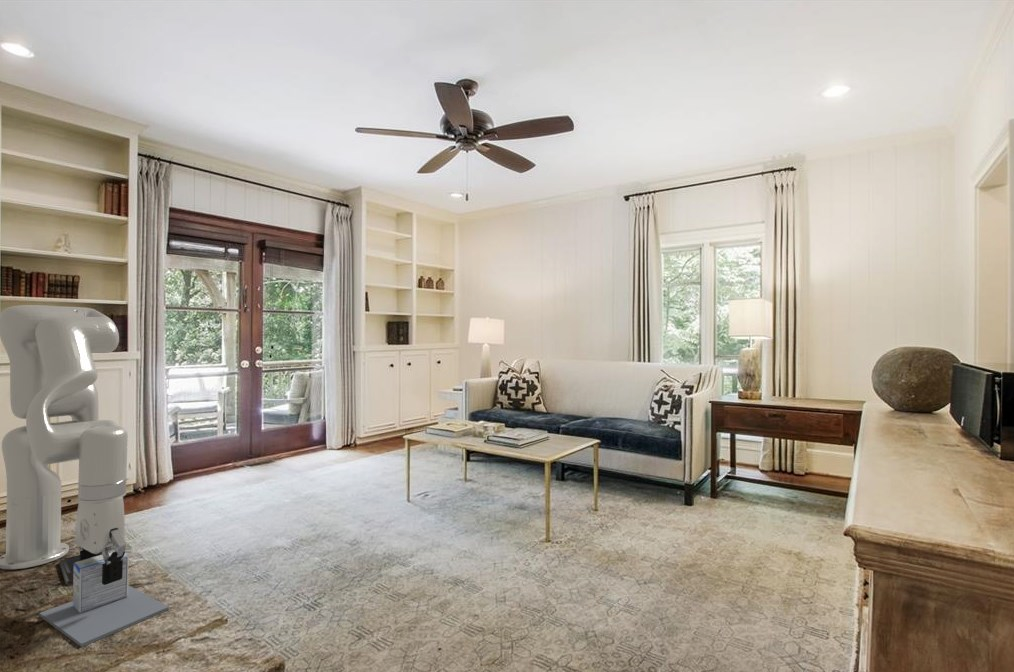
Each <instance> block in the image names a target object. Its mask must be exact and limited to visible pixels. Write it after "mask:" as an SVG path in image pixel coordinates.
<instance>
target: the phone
mask: <svg viewBox="0 0 1014 672" xmlns="http://www.w3.org/2000/svg"><path fill="white" fill-rule="evenodd" d="M100 555H102V552H100ZM78 561H80V554H78V555H74V556H70V557H66V558H62V559H60V560H59V561H58V565H59V570H60V571H61V573H62V576H63V579H64V582H65V585H66V586H73V570H74V563H75V562H78Z"/></svg>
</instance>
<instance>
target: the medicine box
mask: <svg viewBox="0 0 1014 672" xmlns="http://www.w3.org/2000/svg"><path fill="white" fill-rule="evenodd" d="M113 552H115V550H113V551H109V552H108V553H109V557H110V555H111V554H112V553H113ZM129 557H130V556H129V555H128V554H127V553H126V552H125V554H124V559H123V573H122V579H120V580H118V581H115V582H112V583H109V584H107V585H103V584H102V564H105V562H104V558H103V555H99V556H96V557H92V558H89V559H85V560H82V561H78V562H75V563H74V570H73V585H72V587H73V588H72V592H73V594H72V597H73V598H72V601H73V605H74V606H75V608H76V609H77V610H78V611H79V613H81V612H84V611H87V610H89V609H92V608H95V607H98V606H101V605H104V604H107V603H109V602H112V601H115V600H118V599H121V598H124V597H127V596H128V585H129V559H130V558H129Z"/></svg>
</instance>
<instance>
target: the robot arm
mask: <svg viewBox="0 0 1014 672" xmlns="http://www.w3.org/2000/svg"><path fill="white" fill-rule="evenodd" d="M0 340H1V343H2V345H3V347H4V349H5V351H6V353H7V357H8V360H9V392H10V393H9V399H10V401H9V402H10V408H11V412H12V414H13V415H14V417H16V418H18V419H23V420H25V425H23V426H19V427H16V428H13V429H11V430H10V431H8V432H7V433H6V434H5V435H4V436H3V438H2V441H1V452H2V457H3V458H2V459H3V461H4V462H3V463H4V467H5V473H6V475H5V476H6V519H5V521H6V522H5V523H6V524H5V527H6V529H5V530H6V531H5V536H6V537H5V541H6V542H5V553H4V554H2V555H1V556H0V569H1V570H19V569H20V570H22V569H27V568H28V569H29V568H33V567H34V568H35V567H37V566H41V565H44V564H48V563H50V562H51V563H52V562H53V561H56V560H59V559H60V558H62V557H64V556H65V555H66V554H67V553H69V551H70V545H69V544H67V543H65V542H61V540H62V539H61V535H62V533H61V531H62V530H61V529H62V480H61V477H60V476H59V474H57V473H56V472H55V471H53V470H52V469H51V468H50V467H49V466H48V465H53V464H60V463H67V462H72V461H78V480H77V481H78V484H77V485H78V488H77V489H78V490H77V491H78V492H77V501H78V504H77V505H78V506H77V510H76V511H77V512H76V522H75V532H74V542H75V544H76V546H78V548H79V550H80V551H79V555H80V561H82V560H85V559H89V558H92V557H96V556H99V555H100V552H102V555H103V558H104V562H105V564H102V584H103V585H107V584H109V583H112V582H115V581H118V580H120V579H122V573H123V559H124V554H125V553H126V548H127V543H126V540H125V536H126V535H125V534H126V533H125V531H126V527H125V526H126V524H125V520H126V519H125V504H124V503H125V502H124V497H125V496H126V495H127V472H128V471H127V469H128V462H127V461H128V441H129V440H128V432H127V429H126V428H124V427H122V426H119V424H117V423H116V422H115V421H113V420H110V419H101V420H100V419H99V394H98V390H97V385H96V384H95V382H96V381H97V379H98V371H97V368H96V363H95V360H94V357H93V354H109V353H112V352H113V351H115V350H116V349H117V348H118V346H119V343H120V334H119V330H118V327H117V326H116V324H115V322H114V320H113V319H111V318H110V317H109V316H107V315H105V314H103V313H102V312H100V311H98V310H96V309H94V308H90V307H86V306H85V307H82V306H62V305H61V306H57V305H42V304H25V305H24V304H22V305H21V304H20V305H14V306H13V305H12V306H10V307H7V308H5V309H3V310H2V311H1V312H0ZM65 416H66V417H68V416H69V417H71V420H67V421H66V420H65V421H57V422H50V421H49V418H58V417H65ZM114 551H115V552H114ZM110 552H113V553H112V554H111V555H110V557H109V553H110Z"/></svg>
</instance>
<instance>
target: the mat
mask: <svg viewBox="0 0 1014 672" xmlns="http://www.w3.org/2000/svg"><path fill="white" fill-rule="evenodd" d="M167 611H169V606H168V605H166V604H164V603H162V602H160V601H159V600H156V599H154V598H153V597H151V596H150V595H147V594H146V593H144V592H141V591H140V590H138V589H136V588H135V587H133V586H131V585H129V584H128V596H127V597H124V598H121V599H118V600H115V601H112V602H109V603H107V604H104V605H101V606H98V607H95V608H92V609H89V610H87V611H84V612H81V613H79V611H78V610H77V609H76V608H75V606H74V605H73V600H72V601H69V602H66V603H64V604H61V605H58V606H56V607H51V608H49V609H46V610H44V611H41V612H38V613H39V617H40V618H41V619H43V621H45V622H47V623H48V624H49V625H51V626H52V627H53V628H54V629H56V630H58V631H59V632H60V633H62V634H63V635H64V636H66V637H67V638H69V640H71V641H72V642H74V643H75V644H76V645H78V646H79V647H80V648H83V647H85V646H88V645H90V644H92V643H95V642H97V641H99V640H102V639H104V638H106V637H108V636H111V635H114V634H115V633H118V632H120V631H123V630H125V629H127V628H130V627H132V626H134V624H135V625H137V624H139V623H141V621H142V622H144V621H147V620H149V619H151V618H154V617H155V616H158V615H161V614H162V613H165V612H167Z"/></svg>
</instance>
